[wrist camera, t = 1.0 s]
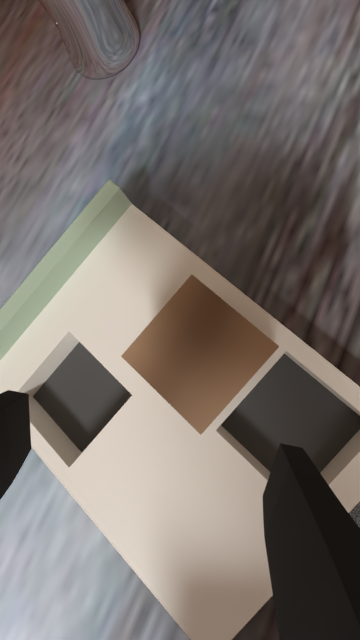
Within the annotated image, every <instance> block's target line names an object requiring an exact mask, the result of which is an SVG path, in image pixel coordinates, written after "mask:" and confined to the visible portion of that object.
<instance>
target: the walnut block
mask: <svg viewBox="0 0 360 640" xmlns="http://www.w3.org/2000/svg"><path fill="white" fill-rule="evenodd" d="M278 348H279V346H278V345H277V344H276V343H275V342H273V341H272V340H271V339H270V338H269V337H267V336H266V335H265V334H264V333H262V332H261V331H260V330H259V329H258V328H256V327H255V326H254V325H253V324H252V323H250V322H249V321H248V320H247V319H246V318H244V317H243V316H242V315H241V314H240V313H238V312H237V311H236V310H235V309H233V308H232V307H231V306H230V305H229V304H227V303H226V302H225V301H224V300H223V299H221V298H220V297H219V296H218V295H217V294H215V293H214V292H213V291H212V290H210V289H209V288H208V287H207V286H206V285H204V284H203V283H202V282H201V281H200V280H198V279H197V278H196V277H195V276H194V275H192V274H191V276H190V277H189V278H188V279H187V280H186V281H185V283H184V284H183V285H182V286H181V287H180V288H179V289H178V291H177V292H176V293H175V294H174V295H173V296H172V298H171V299H170V300H169V301H168V302H167V303H166V305H165V306H164V307H163V308H162V309H161V310H160V312H159V313H158V314H157V315H156V316H155V317H154V319H153V320H152V321H151V322H150V323H149V324H148V326H147V327H146V328H145V329H144V330H143V331H142V332H141V334H140V335H139V336H138V337H137V338H136V339H135V341H134V342H133V343H132V344H131V345H130V346H129V348H128V349H127V350H126V351H125V352H124V353H123V355H122V356H121V357H122V358H123V359H124V360H125V361H126V362H127V363H128V364H129V365H130V366H131V367H132V368H133V369H134V370H135V371H136V372H137V373H138V374H140V375H141V376H142V377H143V378H144V379H145V380H146V381H147V382H148V383H149V384H150V385H151V386H152V387H153V388H154V389H155V390H156V391H157V392H158V393H159V394H160V395H161V396H162V397H163V398H164V399H165V400H166V401H167V402H168V403H169V404H170V405H171V406H172V407H173V408H174V409H175V410H176V411H177V412H178V413H179V414H180V415H181V416H182V417H183V418H184V419H185V420H186V421H187V422H188V423H189V424H190V425H191V426H192V427H193V428H194V429H195V430H196V431H197V432H198V433H199V434H200V435H201V434H202V433H203V432H204V431H205V430H206V429H207V428H208V426H209V425H210V424H211V423H212V422H213V421H214V420H215V419H216V417H217V416H218V415H219V414H220V413H221V412H222V411H223V410H224V408H225V407H226V406H227V405H228V404H229V403H230V402H231V401H232V399H233V398H234V397H235V396H236V395H237V394H238V393H239V392H240V390H241V389H242V388H243V387H244V386H245V385H246V384H247V382H248V381H249V380H250V379H251V378H252V377H253V376H254V375H255V373H256V372H257V371H258V370H259V369H260V368H261V367H262V366H263V364H264V363H265V362H266V361H267V360H268V359H269V358H270V357H271V355H272V354H273V353H274V352H275V351H276V350H277V349H278Z"/></svg>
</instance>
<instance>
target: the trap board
mask: <svg viewBox="0 0 360 640" xmlns="http://www.w3.org/2000/svg"><path fill="white" fill-rule="evenodd" d="M191 274H192V275H194V276H195V277H196V278H197V279H198V280H200V281H201V282H202V283H203V284H204V285H206V286H207V287H208V288H209V289H210V290H212V291H213V292H214V293H215V294H217V295H218V296H219V297H220V298H221V299H223V300H224V301H225V302H226V303H227V304H229V305H230V306H231V307H232V308H233V309H235V310H236V311H237V312H238V313H240V314H241V315H242V316H243V317H244V318H246V319H247V320H248V321H249V322H250V323H252V324H253V325H254V326H255V327H256V328H258V329H259V330H260V331H261V332H262V333H264V334H265V335H266V336H267V337H269V338H270V339H271V340H272V341H273V342H275V343H276V344H277V345H278V346H279V348H278V349H277V350H276V351H275V352H274V353H273V354H272V355H271V357H270V358H269V359H268V360H267V361H266V362H265V363H264V364H263V366H262V367H261V368H260V369H259V370H258V371H257V372H256V373H255V375H254V376H253V377H252V378H251V379H250V380H249V381H248V382H247V384H246V385H245V386H244V387H243V388H242V389H241V390H240V392H239V393H238V394H237V395H236V396H235V397H234V398H233V399H232V401H231V402H230V403H229V404H228V405H227V406H226V407H225V408H224V410H223V411H222V412H221V413H220V414H219V415H218V416H217V417H216V419H215V420H214V421H213V422H212V423H211V424H210V425H209V426H208V428H207V429H206V430H205V431H204V432H203V433H202V434H201V435H200V434H199V433H198V432H197V431H196V430H195V429H194V428H193V427H192V426H191V425H190V424H189V423H188V422H187V421H186V420H185V419H184V418H183V417H182V416H181V415H180V414H179V413H178V412H177V411H176V410H175V409H174V408H173V407H172V406H171V405H170V404H169V403H168V402H167V401H166V400H165V399H164V398H163V397H162V396H161V395H160V394H159V393H158V392H157V391H156V390H155V389H154V388H153V387H152V386H151V385H150V384H149V383H148V382H147V381H146V380H145V379H144V378H143V377H142V376H141V375H140V374H138V373H137V372H136V371H135V370H134V369H133V368H132V367H131V366H130V365H129V364H128V363H127V362H126V361H125V360H124V359H123V358H122V357H121V356H122V355H123V353H124V352H125V351H126V350H127V349H128V348H129V346H130V345H131V344H132V343H133V342H134V341H135V339H136V338H137V337H138V336H139V335H140V334H141V332H142V331H143V330H144V329H145V328H146V327H147V326H148V324H149V323H150V322H151V321H152V320H153V319H154V317H155V316H156V315H157V314H158V313H159V312H160V310H161V309H162V308H163V307H164V306H165V305H166V303H167V302H168V301H169V300H170V299H171V298H172V296H173V295H174V294H175V293H176V292H177V291H178V289H179V288H180V287H181V286H182V285H183V284H184V283H185V281H186V280H187V279H188V278H189V277H190V276H191ZM7 390H11V391H16V392H21V393H26V394H29V412H30V433H31V447H32V448H33V449H34V450H35V452H36V453H37V454H38V455H39V457H40V458H41V459H42V460H43V461H44V463H45V464H46V465H47V466H48V467H49V469H50V470H51V471H52V472H53V473H54V475H55V476H56V477H57V478H58V480H59V481H60V482H61V483H62V484H63V486H64V487H65V488H66V489H67V490H68V492H69V493H70V494H71V495H72V496H73V498H74V499H75V500H76V501H77V502H78V504H79V505H80V506H81V507H82V509H83V510H84V511H85V512H86V513H87V515H88V516H89V517H90V518H91V519H92V521H93V522H94V523H95V524H96V525H97V527H98V528H99V529H100V530H101V532H102V533H103V534H104V535H105V536H106V538H107V539H108V540H109V541H110V542H111V544H112V545H113V546H114V547H115V548H116V550H117V551H118V552H119V553H120V555H121V556H122V557H123V558H124V559H125V561H126V562H127V563H128V564H129V565H130V567H131V568H132V569H133V570H134V571H135V573H136V574H137V575H138V576H139V577H140V579H141V580H142V581H143V582H144V584H145V585H146V586H147V587H148V588H149V590H150V591H151V592H152V593H153V594H154V596H155V597H156V598H157V599H158V600H159V602H160V603H161V604H162V605H163V607H164V608H165V609H166V610H167V611H168V613H169V614H170V615H171V616H172V617H173V619H174V620H175V621H176V622H177V623H178V625H179V626H180V627H181V628H182V630H183V631H184V632H185V633H186V634H187V636H188V637H189V638H190V639H191V640H232V639H233V638H234V637H235V636H236V634H237V633H238V632H239V631H240V630H241V629H242V628H243V627H244V626H245V625H246V624H247V623H248V621H249V620H250V619H251V618H252V617H253V616H254V615H255V614H256V613H257V612H258V611H259V610H260V609H261V607H262V606H263V605H264V604H265V603H266V602H267V601H268V600H269V599H270V598H271V597H272V596H273V592H272V586H271V579H270V573H269V566H268V559H267V552H266V545H265V538H264V522H263V493H264V490H265V487H266V484H267V481H268V478H269V475H270V472H271V469H272V466H273V463H274V460H275V458H276V455H277V452H278V449H279V446H280V443H281V444H287V445H292V446H297V447H302V448H303V449H304V450H305V452H306V453H307V454H308V456H309V457H310V459H311V460H312V462H313V463H314V465H315V466H316V468H317V469H318V471H319V472H320V473H321V475H322V476H323V478H324V479H325V481H326V482H327V484H328V485H329V487H330V488H331V489H332V491H333V492H334V494H335V495H336V497H337V498H338V499H339V501H340V502H341V504H342V505H343V506H344V508H345V509H346V511H347V512H348V513H349V512H350V511H351V510H352V509H353V508H354V507H355V506H356V505H357V504H358V503H359V501H360V387H359V386H358V385H357V384H356V383H354V382H353V381H352V380H351V379H349V378H348V377H347V376H346V375H345V374H343V373H342V372H341V371H340V370H338V369H337V368H336V367H335V366H333V365H332V364H331V363H330V362H328V361H327V360H326V359H325V358H323V357H322V356H321V355H320V354H318V353H317V352H316V351H315V350H313V349H312V348H311V347H310V346H308V345H307V344H306V343H305V342H303V341H302V340H301V339H300V338H298V337H297V336H296V335H295V334H293V333H292V332H291V331H290V330H288V329H287V328H286V327H285V326H284V325H282V324H281V323H280V322H279V321H277V320H276V319H275V318H274V317H272V316H271V315H270V314H269V313H267V312H266V311H265V310H264V309H262V308H261V307H260V306H259V305H257V304H256V303H255V302H254V301H252V300H251V299H250V298H249V297H247V296H246V295H245V294H244V293H242V292H241V291H240V290H239V289H237V288H236V287H235V286H234V285H232V284H231V283H230V282H229V281H227V280H226V279H225V278H224V277H223V276H221V275H220V274H219V273H218V272H216V271H215V270H214V269H213V268H211V267H210V266H209V265H208V264H206V263H205V262H204V261H203V260H201V259H200V258H199V257H198V256H196V255H195V254H194V253H193V252H191V251H190V250H189V249H188V248H186V247H185V246H184V245H183V244H181V243H180V242H179V241H178V240H176V239H175V238H174V237H173V236H171V235H170V234H169V233H168V232H166V231H165V230H164V229H163V228H162V227H160V226H159V225H158V224H157V223H155V222H154V221H153V220H152V219H150V218H149V217H148V216H147V215H145V214H144V213H143V212H142V211H140V210H139V209H138V208H137V207H135V206H134V205H133V204H132V203H131V202H130V201H129V199H128V198H127V197H126V195H125V194H124V193H123V191H122V190H121V189H120V188H119V187H118V186H117V185H116V184H114V183H113V182H112V181H111V180H108V181H107V182H106V183H105V185H104V186H103V187H102V188H101V189H100V191H99V192H98V193H97V194H96V195H95V197H94V198H93V199H92V200H91V201H90V203H89V204H88V205H87V206H86V207H85V209H84V210H83V211H82V212H81V213H80V215H79V216H78V217H77V218H76V219H75V221H74V222H73V223H72V224H71V225H70V227H69V228H68V229H67V230H66V231H65V233H64V234H63V235H62V236H61V237H60V239H59V240H58V241H57V242H56V243H55V245H54V246H53V247H52V248H51V249H50V251H49V252H48V253H47V254H46V255H45V257H44V258H43V259H42V260H41V261H40V263H39V264H38V265H37V266H36V267H35V269H34V270H33V271H32V272H31V273H30V275H29V276H28V277H27V278H26V279H25V281H24V282H23V283H22V284H21V285H20V287H19V288H18V289H17V290H16V291H15V293H14V294H13V295H12V296H11V297H10V299H9V300H8V301H7V302H6V303H5V305H4V306H3V307H2V308H1V309H0V394H1V393H3V392H5V391H7Z"/></svg>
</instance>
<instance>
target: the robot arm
mask: <svg viewBox="0 0 360 640" xmlns="http://www.w3.org/2000/svg"><path fill="white" fill-rule="evenodd" d="M30 450H31V433H30V412H29V394H26V393H21V392H16V391H11V390H7V391H5V392H3V393H1V394H0V499H1V498H2V496H3V495H4V494H5V492H6V491H7V489H8V488H9V486H10V485H11V484H12V482H13V480H14V479H15V477H16V475H17V473H18V472H19V470H20V468H21V467H22V465H23V463H24V461H25V459H26V457H27V455H28V454H29V452H30ZM263 522H264V538H265V545H266V552H267V559H268V566H269V573H270V579H271V586H272V592H273V599H274V605H275V612H276V619H277V625H278V632H279V638H280V640H360V528H359V527H358V526H357V524H356V523H355V521H354V520H353V519H352V517H351V516H350V515H349V513H348V512H347V511H346V509H345V508H344V506H343V505H342V504H341V502H340V501H339V499H338V498H337V497H336V495H335V494H334V492H333V491H332V489H331V488H330V487H329V485H328V484H327V482H326V481H325V479H324V478H323V476H322V475H321V473H320V472H319V471H318V469H317V468H316V466H315V465H314V463H313V462H312V460H311V459H310V457H309V456H308V454H307V453H306V452H305V450H304V449H303V448H302V447H297V446H292V445H287V444H281V443H280V446H279V449H278V452H277V455H276V458H275V460H274V463H273V466H272V469H271V472H270V475H269V478H268V481H267V484H266V487H265V490H264V493H263Z"/></svg>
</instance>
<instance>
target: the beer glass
mask: <svg viewBox="0 0 360 640" xmlns="http://www.w3.org/2000/svg"><path fill="white" fill-rule="evenodd" d="M38 1H39V2H40V4H41V5H42V6H43V8H44V9H45V10H46V11H47V13H48V14H49V16H50V17H51V19H52V21H53V22H54V24H55V25H56V27H57V29H58V31H59V33H60V35H61V37H62V40H63V42H64V45H65V47H66V50H67V52H68V55H69V57H70V60H71V62H72V64H73V66H74V68H75V69H76V70H77V71H78V72H79V73H80V74H81V75H83V76H85V77H87V78H91V79H103V78H107V77H110V76H113V75H115V74H117V73H118V72H120V71H121V70H122V69H124V68H125V67H126V66H127V65H128V64H129V63H130V61H131V60H132V59H133V57H134V55H135V53H136V51H137V49H138V46H139V40H140V34H139V28H138V26H137V23H136V21H135V19H134V17H133V16H132V14H131V12H130V10H129V9H128V7H127V5H126V3H125V1H124V0H38Z"/></svg>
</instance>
